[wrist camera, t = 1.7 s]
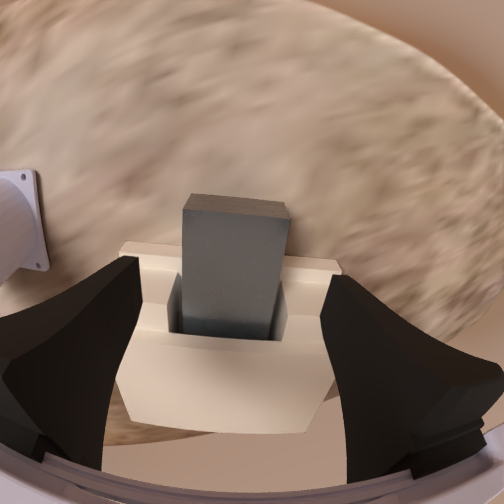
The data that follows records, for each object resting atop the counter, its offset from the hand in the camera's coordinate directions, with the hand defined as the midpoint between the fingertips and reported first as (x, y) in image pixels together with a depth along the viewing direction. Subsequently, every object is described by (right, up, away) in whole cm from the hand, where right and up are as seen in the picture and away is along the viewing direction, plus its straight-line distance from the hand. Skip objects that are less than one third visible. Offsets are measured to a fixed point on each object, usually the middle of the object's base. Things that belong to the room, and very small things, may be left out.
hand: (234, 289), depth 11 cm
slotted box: (-1, -4, +11) cm, 12 cm away
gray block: (-1, -1, +8) cm, 8 cm away
